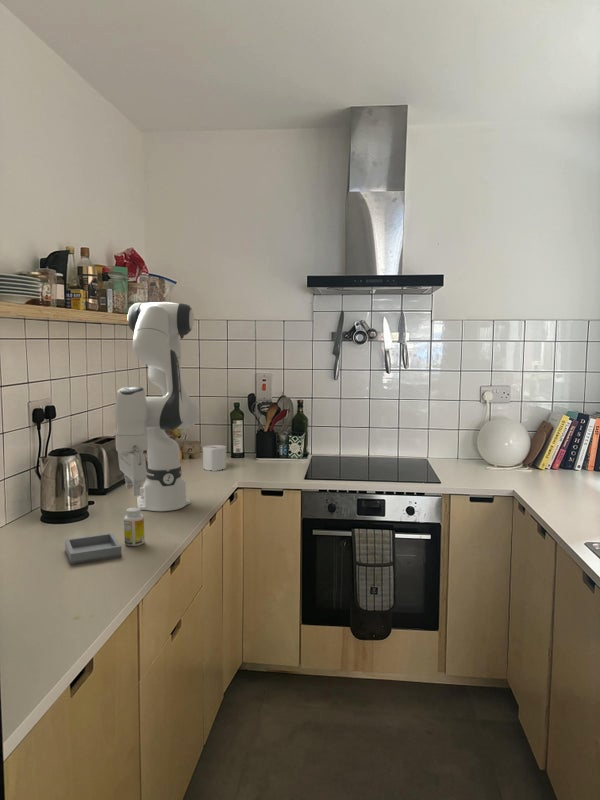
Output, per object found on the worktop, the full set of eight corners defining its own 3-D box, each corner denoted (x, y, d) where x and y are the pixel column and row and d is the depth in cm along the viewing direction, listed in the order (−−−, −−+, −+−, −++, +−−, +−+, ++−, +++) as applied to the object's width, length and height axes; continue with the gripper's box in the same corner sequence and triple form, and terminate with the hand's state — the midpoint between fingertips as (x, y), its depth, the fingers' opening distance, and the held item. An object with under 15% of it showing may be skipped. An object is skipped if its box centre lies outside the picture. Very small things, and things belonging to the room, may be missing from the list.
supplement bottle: (145, 540, 179) (145, 506, 178) (142, 546, 173) (142, 511, 172) (126, 540, 178) (125, 506, 177) (122, 547, 172) (121, 512, 171)
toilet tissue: (219, 465, 285) (219, 444, 284) (231, 469, 276) (231, 447, 275) (199, 467, 279) (198, 446, 278) (210, 472, 270) (210, 450, 269)
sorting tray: (65, 549, 170) (64, 539, 170) (112, 542, 176) (112, 532, 176) (70, 565, 159) (70, 554, 158) (121, 557, 165) (121, 546, 164)
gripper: (151, 448, 165) (152, 498, 166) (135, 438, 183) (136, 483, 184) (128, 449, 162) (129, 500, 163) (114, 439, 180) (115, 485, 181)
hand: (132, 491), depth 174 cm, fingers open, 8 cm apart
